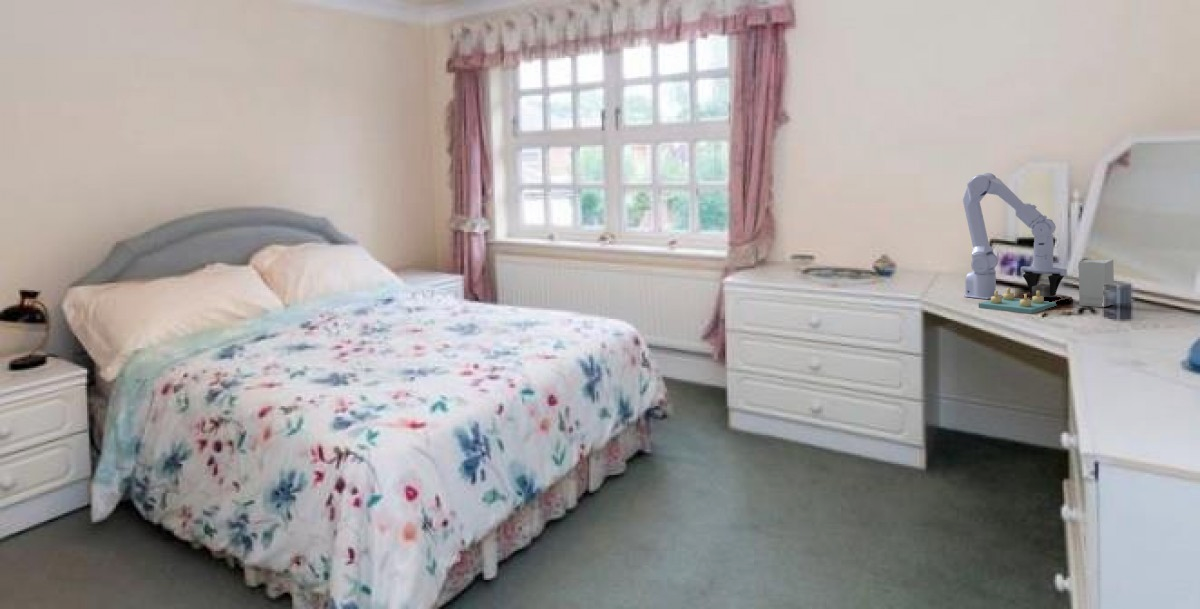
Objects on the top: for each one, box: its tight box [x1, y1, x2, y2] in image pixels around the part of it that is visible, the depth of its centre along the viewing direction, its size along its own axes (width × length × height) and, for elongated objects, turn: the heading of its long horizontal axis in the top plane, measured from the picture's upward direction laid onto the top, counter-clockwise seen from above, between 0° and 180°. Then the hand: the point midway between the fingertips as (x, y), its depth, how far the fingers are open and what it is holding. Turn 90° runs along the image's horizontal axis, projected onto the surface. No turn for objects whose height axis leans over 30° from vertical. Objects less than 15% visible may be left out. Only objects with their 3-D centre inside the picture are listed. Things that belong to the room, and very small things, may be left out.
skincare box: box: [1078, 258, 1115, 308], centre depth 239 cm, size 8×6×15 cm
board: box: [1014, 283, 1073, 302], centre depth 254 cm, size 14×10×5 cm
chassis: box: [978, 287, 1057, 315], centre depth 247 cm, size 18×14×6 cm
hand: (1042, 294), depth 254 cm, fingers open, 6 cm apart
